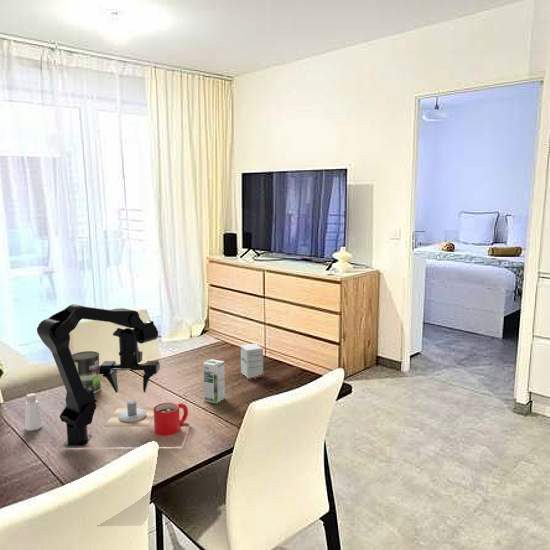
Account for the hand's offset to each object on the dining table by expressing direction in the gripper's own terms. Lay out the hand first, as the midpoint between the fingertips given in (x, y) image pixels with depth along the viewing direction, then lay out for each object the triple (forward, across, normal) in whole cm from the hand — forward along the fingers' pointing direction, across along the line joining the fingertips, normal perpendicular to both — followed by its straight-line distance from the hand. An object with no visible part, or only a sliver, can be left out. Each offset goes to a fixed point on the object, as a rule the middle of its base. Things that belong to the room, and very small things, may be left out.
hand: (130, 392), depth 160 cm
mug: (+9, -15, +8) cm, 19 cm away
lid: (+8, 0, 0) cm, 9 cm away
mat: (+9, 0, 0) cm, 9 cm away
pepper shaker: (+9, +30, +6) cm, 32 cm away
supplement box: (+9, -39, -38) cm, 55 cm away
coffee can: (+9, +24, -24) cm, 35 cm away
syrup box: (+9, -26, -14) cm, 31 cm away
